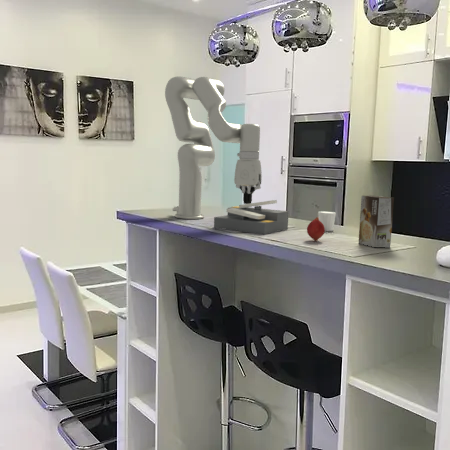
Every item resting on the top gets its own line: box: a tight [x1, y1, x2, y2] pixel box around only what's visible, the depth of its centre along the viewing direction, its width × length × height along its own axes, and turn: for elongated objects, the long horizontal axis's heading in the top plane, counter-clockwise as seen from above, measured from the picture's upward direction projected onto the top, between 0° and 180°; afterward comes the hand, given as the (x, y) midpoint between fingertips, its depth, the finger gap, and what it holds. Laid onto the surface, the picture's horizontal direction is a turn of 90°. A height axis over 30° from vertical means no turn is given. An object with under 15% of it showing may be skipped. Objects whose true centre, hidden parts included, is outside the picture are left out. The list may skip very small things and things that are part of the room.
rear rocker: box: [238, 199, 278, 208], centre depth 195 cm, size 14×5×1 cm, turn 56°
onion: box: [306, 216, 326, 242], centre depth 169 cm, size 6×6×8 cm
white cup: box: [317, 210, 337, 232], centre depth 197 cm, size 7×7×7 cm
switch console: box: [213, 205, 290, 235], centre depth 192 cm, size 22×18×8 cm
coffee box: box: [358, 194, 395, 248], centre depth 164 cm, size 9×6×16 cm
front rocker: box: [225, 207, 265, 219], centre depth 188 cm, size 14×5×1 cm, turn 56°
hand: (247, 203), depth 198 cm, fingers closed
